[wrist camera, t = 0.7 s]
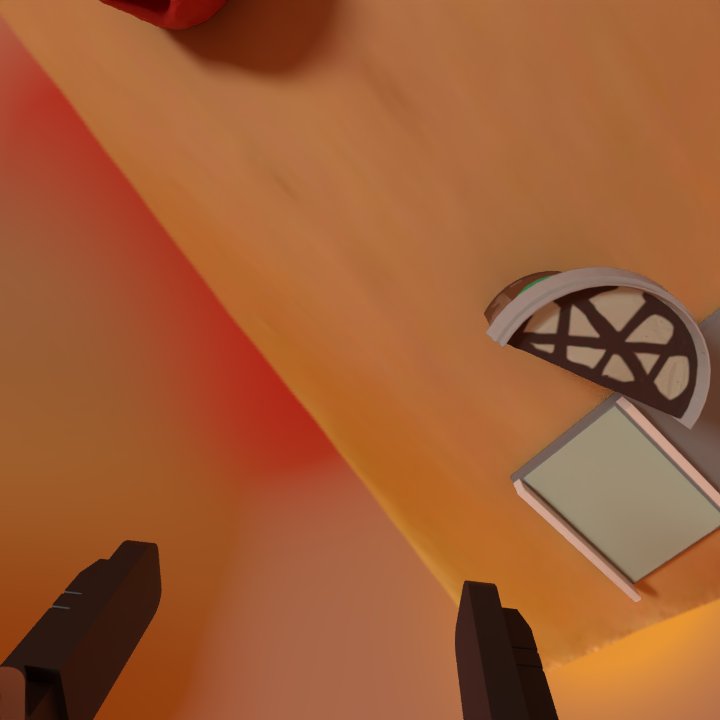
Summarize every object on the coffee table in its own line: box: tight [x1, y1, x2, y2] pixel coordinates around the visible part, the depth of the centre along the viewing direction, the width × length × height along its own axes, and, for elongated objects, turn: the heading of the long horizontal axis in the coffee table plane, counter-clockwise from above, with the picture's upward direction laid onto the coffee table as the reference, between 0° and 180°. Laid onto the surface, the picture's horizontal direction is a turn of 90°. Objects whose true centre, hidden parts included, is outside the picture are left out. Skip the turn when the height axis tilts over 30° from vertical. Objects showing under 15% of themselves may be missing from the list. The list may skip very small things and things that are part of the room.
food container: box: [484, 267, 711, 430], centre depth 29 cm, size 12×6×10 cm, turn 67°
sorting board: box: [510, 308, 720, 602], centre depth 36 cm, size 20×14×2 cm
